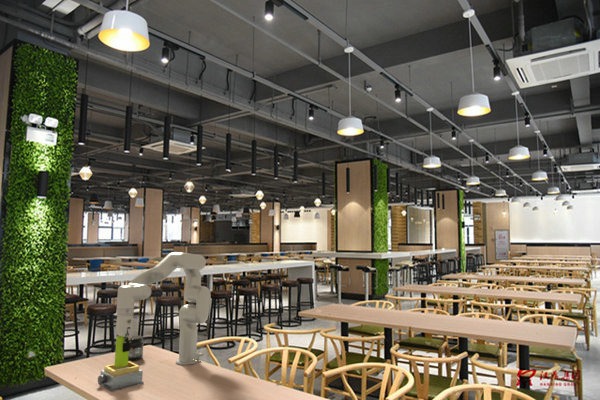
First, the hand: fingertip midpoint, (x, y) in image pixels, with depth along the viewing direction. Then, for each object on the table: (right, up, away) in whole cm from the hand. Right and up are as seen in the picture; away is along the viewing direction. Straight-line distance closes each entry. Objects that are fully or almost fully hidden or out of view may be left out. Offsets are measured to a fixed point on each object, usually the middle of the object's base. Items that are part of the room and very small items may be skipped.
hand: (122, 349), depth 197 cm
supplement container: (-11, -20, +39) cm, 45 cm away
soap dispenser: (0, -7, -1) cm, 7 cm away
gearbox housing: (0, -15, -2) cm, 16 cm away
